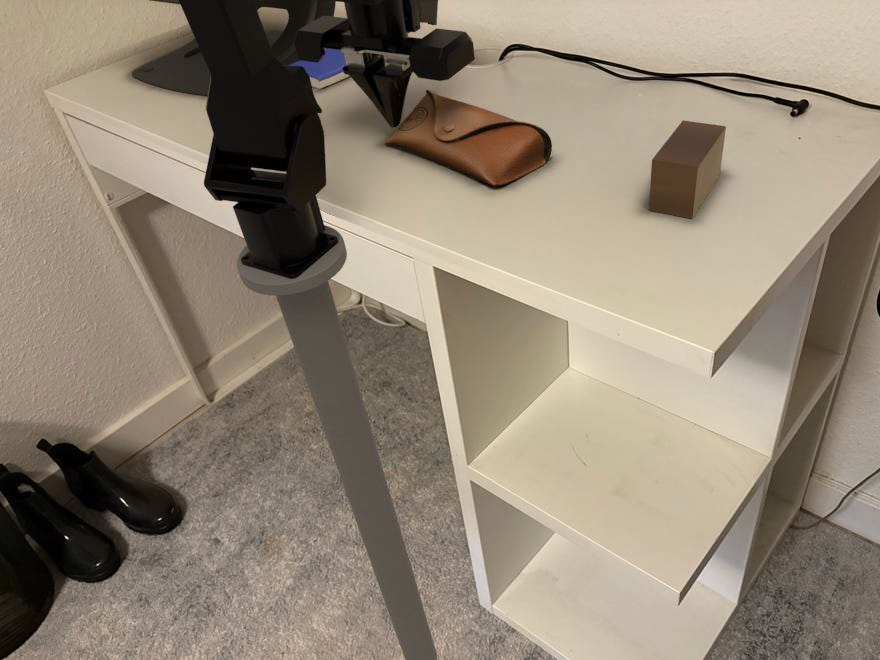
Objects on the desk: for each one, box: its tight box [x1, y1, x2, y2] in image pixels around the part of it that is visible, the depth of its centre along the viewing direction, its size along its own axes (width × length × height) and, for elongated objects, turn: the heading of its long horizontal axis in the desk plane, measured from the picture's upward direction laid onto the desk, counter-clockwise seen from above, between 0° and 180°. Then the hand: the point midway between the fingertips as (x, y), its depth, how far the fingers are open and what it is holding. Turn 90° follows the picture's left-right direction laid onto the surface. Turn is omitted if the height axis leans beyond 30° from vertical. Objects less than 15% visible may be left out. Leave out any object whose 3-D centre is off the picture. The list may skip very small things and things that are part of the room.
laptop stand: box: [131, 0, 337, 97], centre depth 102 cm, size 26×24×16 cm
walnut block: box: [648, 120, 727, 219], centre depth 66 cm, size 8×4×5 cm, turn 150°
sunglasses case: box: [384, 89, 553, 187], centre depth 77 cm, size 18×7×7 cm, turn 46°
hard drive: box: [290, 48, 350, 90], centre depth 100 cm, size 2×8×12 cm
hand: (395, 125), depth 81 cm, fingers closed
